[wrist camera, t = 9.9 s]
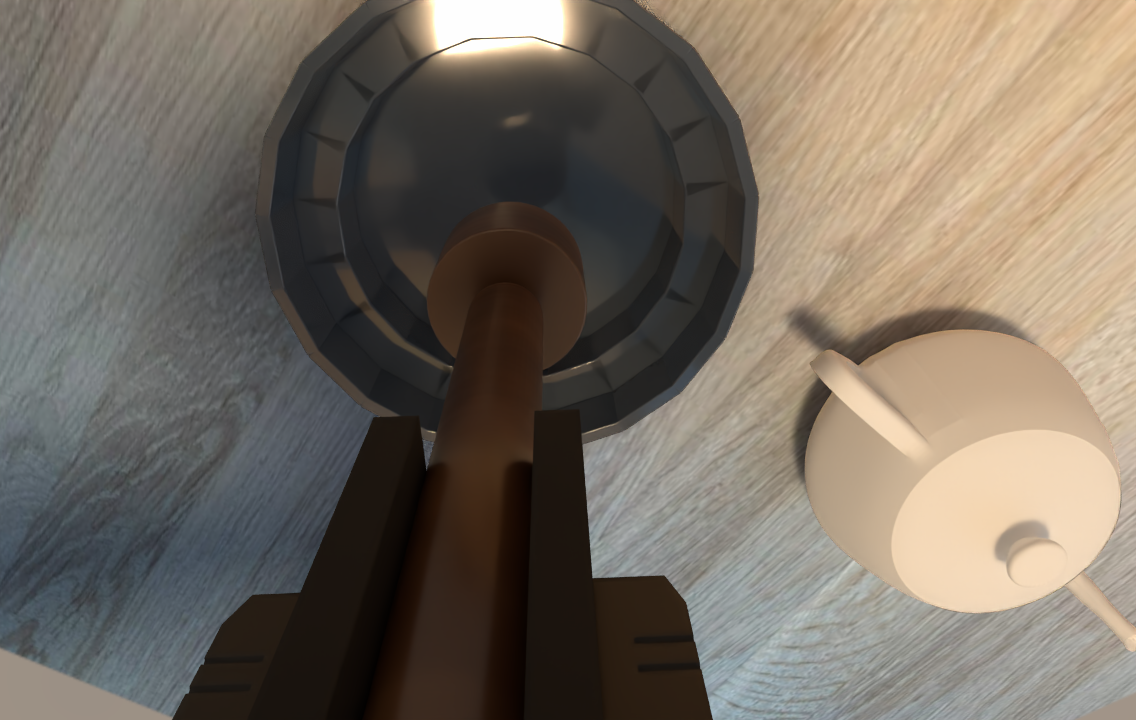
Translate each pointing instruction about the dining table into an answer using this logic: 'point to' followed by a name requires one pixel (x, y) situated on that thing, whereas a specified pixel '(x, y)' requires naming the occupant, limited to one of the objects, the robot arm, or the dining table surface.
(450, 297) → the wooden pestle
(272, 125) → the bowl
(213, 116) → the dining table surface
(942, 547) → the teapot
